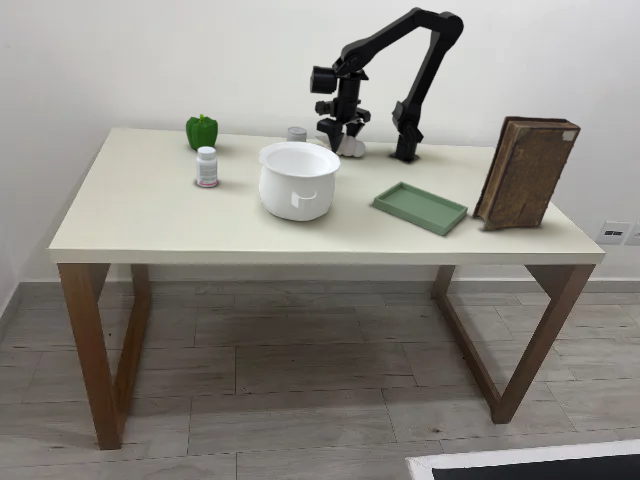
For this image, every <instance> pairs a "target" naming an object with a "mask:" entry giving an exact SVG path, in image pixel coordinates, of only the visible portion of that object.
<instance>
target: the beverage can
mask: <svg viewBox="0 0 640 480" xmlns="http://www.w3.org/2000/svg"><path fill="white" fill-rule="evenodd" d="M307 132H308V131H307V129H306V128H304V127H300V126H291V127H288V128H287V132H286V140H285V142H291V141H292V142H306V143H307V137H308V134H307Z"/></svg>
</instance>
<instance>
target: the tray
mask: <svg viewBox="0 0 640 480" xmlns="http://www.w3.org/2000/svg"><path fill="white" fill-rule="evenodd" d="M372 207H374V208H377V209H379V210H382V211H383V212H386V213H388V214H390V215H393V216H395V217H397V218H400V219H403V220H404V221H408V222H409V223H412V224H414V225H417V226H419V227H422V228H423V229H426V230H428V231H430V232H433V233H435V234H437V235H440V236H445V235H446V234H447V233H448V232H449V231H450V230H452V228H454V227H455V226H456V225H457V224H459V222H460V221H461V220H462V219H464V217H466V216H467V214H468V209H469V207H468V206H465V205H463V204H461V203H458V202H456V201H453V200H450V199H448V198H445V197H442V196H440V195H437V194H435V193H432V192H430V191H427V190H424V189H422V188H419V187H417V186H414V185H411V184H410V183H406V182H405V181H399V182H398V183H395V184H394V185H393V186H391V187H390V188H388V189H386V190H385V191H383V192H381V193H380V194H378V195H377V196H375V197H374V198H373V203H372Z"/></svg>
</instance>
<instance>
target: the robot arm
mask: <svg viewBox="0 0 640 480" xmlns="http://www.w3.org/2000/svg"><path fill="white" fill-rule="evenodd" d="M464 24H465V23H464V20H463V19H462V17H460V16H459V15H458V14H455V13H453V12H451V11H448V10H446V11H442V12H440V13H439V12H435V11H432V10H428V9H423V8H421V7H420V6H419V7H418V6H414V7H412V8H411V9H410V10H409V11H408V12H406V13H405V14H404V15H402V16H400V17H399V18H397V19H395V20H393V21H392V22H390V23H389V24H387V25H386V26H384V27H383V28H381V29H380V30H378V31H376V32H375V33H373V34H372V35H370V36H368V37H364V38H361V39H357V40H355V41H352V42H350V43H347V44H345V45H344V46H343V47H342V49H341V51H340V56H339V57H338V58H337V59H336V60H335V61H334V62H333V64H332V65H331V67H327V66H319V65H313V66H312V71H311V74H310V78H309V93H310V94H316V95H318V94H319V95H332V94H333V93H335V92H336V91H337V95H336V96H335V97H333V99H332V100H328V101H325V100H318V101H316V102H315V105H314V112H315V113H316V114H318V116H319V117H322V116H325V115H329V117H325V118H322V119H319V120H318V121H316V128H315V130H316V131H317V132H320V133H323V134H325V135H328V138H329V141H330V146H331V148H330V149H331V150H330V151H332V152H333V153H334V154H337V150H338V148H339V146H340V143H341V141H342V139H343V136H344V134H347V136H352V137H354V138H355V139H356V138H357V137H358V135H359V134H360V132H361V131H362V130H363V128H364V127H365V126H366V123H369V122H371V118H372V113H371V112H370V110H367V109H364V108H362V107H358V105H361V104H362V99H360V98H359V97H360V90H361V83H362V81H369V80H370V77H369V76H368V75H367V73H366V70H364V68H365V67H366V66H367V65H368V64H369V63H371V61H372V60H373V59H375V57H376V56H377V55H378V54H379V53H380V52H381V51H383V50H384V49H386V48H388V47H389V46H391V45H392V44H394V43H396V42H397V41H399V40H401V39H402V38H404V37H405V36H407V35H408V34H410V33H411V32H413V31H416V30H417V29H418V28H422V29H425V30H430V31H431V32H430V39H429V46H428V49H427V51H426V53H425V55H424V58H423V60H422V62H421V63H420V67H419V69H418V72H417V73H416V76H415V77H414V80H413V83H412V85H411V87H410V89H409V92H408V94H407V96H406V97H405V99H404V100H402V101H400V100H397V101H396V103H395V107H394V109H393V110H392V112H391V114H390V115H391V116H392V117H391V121H392V124H393V126H394V127H395V129H396V131H397V132H398V137H397V142H396V147H395V151H394V152H392V153H390V154H389V157H391V158H393V159H396V160H399V161H402V162H405V163H406V164H411V163H413V162H414V161H417V160H418V159H419V158H420V155H418V154H416V152H417V149H418V144H421V143H422V141H423V139H424V138H425V135H424V134H423V133H422V131H420V130H421V129H419V124H420V122H421V121H420V120H421V117H422V107H423V103H424V101H425V99H426V97H427V95H428V92H429V90H430V88H431V86H432V84H433V82H434V81H435V77H436V75H437V73H438V71H439V69H440V67H441V64H442V62H443V60H444V58H445V56H446V54H447V53H448V52H449V51H450V50H451V49H452V48H453V47H454V46H455V45H456V43H457V42H458V40H459V38H460V37H461V36H462V35H463V32H464V29H465V25H464ZM333 118H335V119H333ZM344 126H345V132H343V130H344Z"/></svg>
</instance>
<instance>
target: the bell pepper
mask: <svg viewBox="0 0 640 480" xmlns="http://www.w3.org/2000/svg"><path fill="white" fill-rule="evenodd" d="M218 123H219V122H218V121H217V119H212V118H211V117H210V116H204V114H203V113H200V114H199V117H196V116H190V117H189V119H187V120H186V123H185V133H186V137H187V141H188V144H189V146H190V148H191V149H193V150H196V151H197V152H198V149H199V148H200V147H212V148H214V147H215V145H216V142H217V138H218V135H219V124H218Z"/></svg>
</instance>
